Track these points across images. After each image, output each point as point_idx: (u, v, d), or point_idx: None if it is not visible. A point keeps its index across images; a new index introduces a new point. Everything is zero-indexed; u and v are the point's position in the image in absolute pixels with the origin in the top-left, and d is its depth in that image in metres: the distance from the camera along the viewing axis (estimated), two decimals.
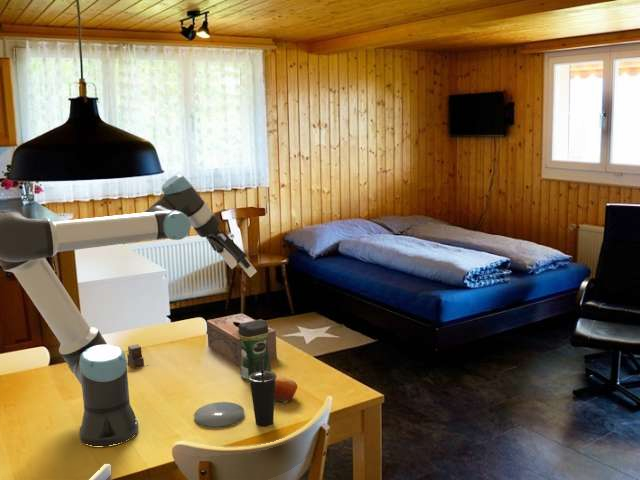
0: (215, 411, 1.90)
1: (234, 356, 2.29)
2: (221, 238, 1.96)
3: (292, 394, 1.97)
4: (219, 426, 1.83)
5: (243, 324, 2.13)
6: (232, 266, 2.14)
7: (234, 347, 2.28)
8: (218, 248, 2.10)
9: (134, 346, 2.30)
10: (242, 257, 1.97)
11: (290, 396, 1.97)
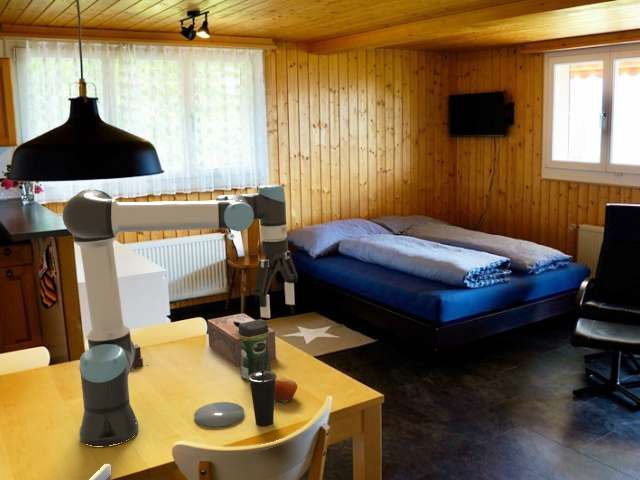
0: (215, 411, 1.90)
1: (233, 356, 2.29)
2: (260, 263, 1.87)
3: (292, 394, 1.97)
4: (219, 426, 1.83)
5: (243, 324, 2.13)
6: (287, 302, 2.01)
7: (233, 346, 2.28)
8: (284, 276, 1.99)
9: None
10: (257, 292, 1.85)
11: (290, 396, 1.97)
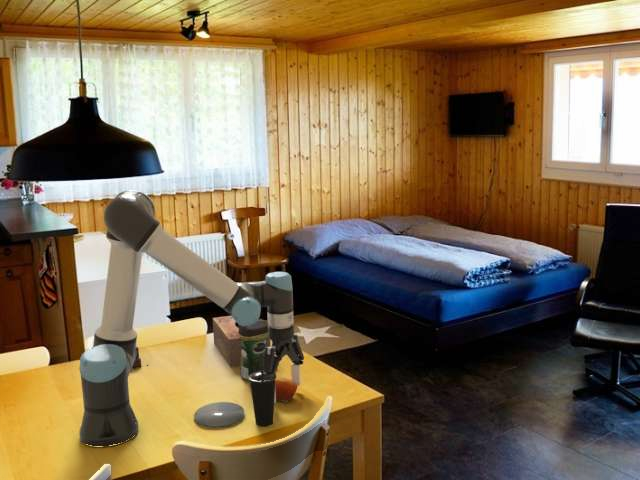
0: (215, 411, 1.90)
1: (227, 356, 2.29)
2: (266, 350, 1.91)
3: (292, 394, 1.97)
4: (219, 426, 1.83)
5: None
6: None
7: (227, 346, 2.28)
8: (290, 358, 2.03)
9: None
10: None
11: (290, 396, 1.97)
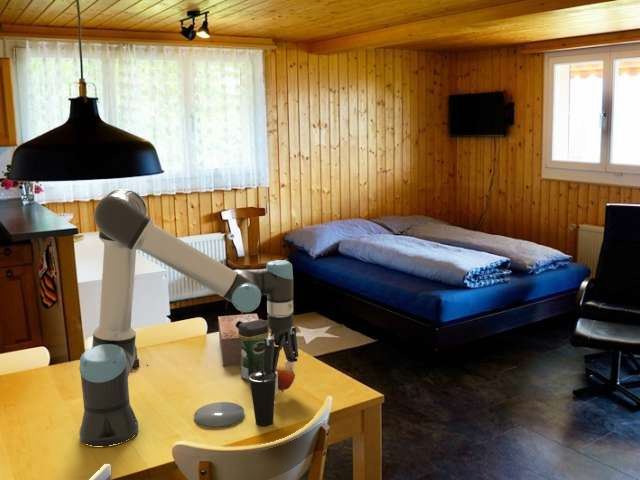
0: (215, 411, 1.90)
1: None
2: (265, 342, 1.91)
3: (290, 383, 1.96)
4: (219, 426, 1.83)
5: (243, 324, 2.13)
6: None
7: None
8: (285, 353, 2.01)
9: None
10: (266, 370, 1.91)
11: (288, 385, 1.96)
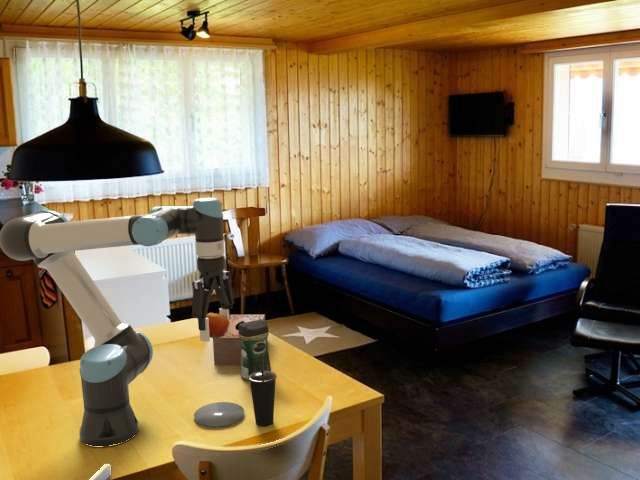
0: (215, 411, 1.90)
1: None
2: (193, 285, 1.76)
3: (223, 330, 1.82)
4: (219, 426, 1.83)
5: (243, 324, 2.13)
6: None
7: None
8: (219, 299, 1.87)
9: None
10: (195, 316, 1.77)
11: (221, 332, 1.82)
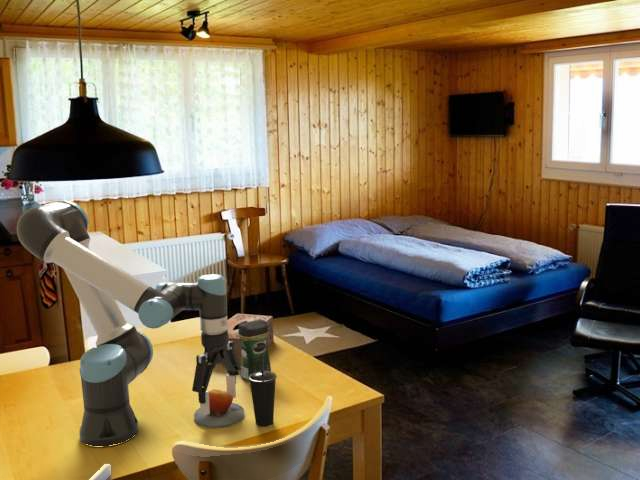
0: None
1: None
2: (197, 358, 1.80)
3: (226, 407, 1.86)
4: (219, 426, 1.83)
5: (243, 324, 2.13)
6: None
7: None
8: (225, 368, 1.92)
9: None
10: (195, 390, 1.79)
11: (224, 409, 1.86)
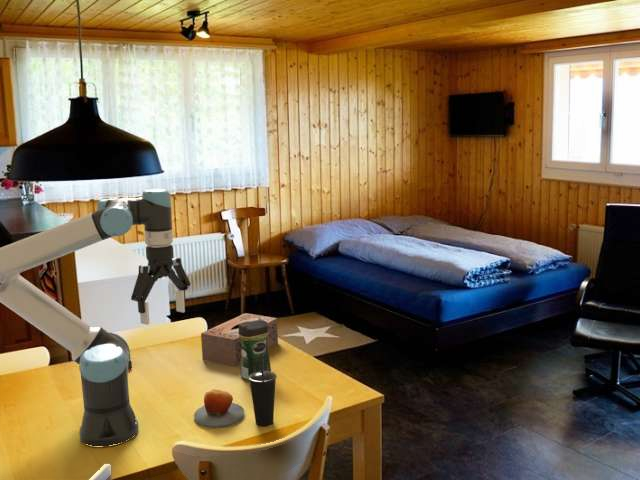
0: None
1: None
2: (140, 268, 1.84)
3: (226, 407, 1.86)
4: (219, 426, 1.83)
5: (243, 324, 2.13)
6: (177, 309, 1.97)
7: None
8: (174, 283, 1.95)
9: None
10: (133, 298, 1.82)
11: (224, 409, 1.86)
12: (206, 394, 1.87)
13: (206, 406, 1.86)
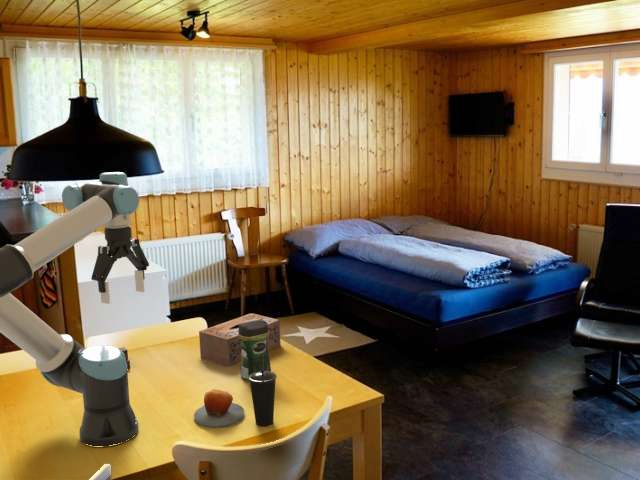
0: None
1: None
2: (99, 249, 1.89)
3: (226, 407, 1.86)
4: (219, 426, 1.83)
5: (243, 324, 2.13)
6: (137, 289, 2.03)
7: None
8: (133, 263, 2.01)
9: (120, 349, 2.28)
10: (94, 278, 1.87)
11: (224, 409, 1.86)
12: (206, 394, 1.87)
13: (206, 406, 1.86)
